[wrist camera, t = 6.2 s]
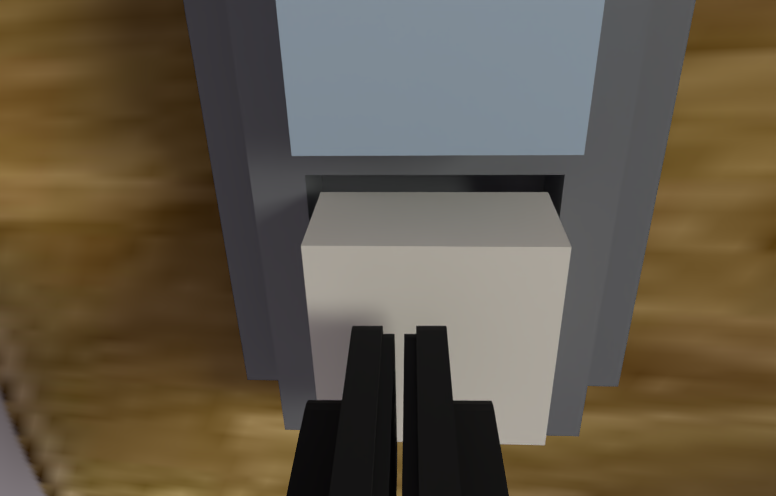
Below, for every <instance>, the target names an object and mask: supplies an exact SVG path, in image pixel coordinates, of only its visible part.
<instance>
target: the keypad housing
mask: <svg viewBox="0 0 776 496" xmlns="http://www.w3.org/2000/svg"><path fill="white" fill-rule="evenodd" d="M695 1H696V0H605V4H604V12H603V19H602V26H601V34H600V41H599V48H598V56H597V63H596V71H595V78H594V85H593V93H592V100H591V108H590V115H589V122H588V130H587V137H586V144H585V152H584V155H436V156H292V155H291V145H290V135H289V126H288V116H287V106H286V96H285V87H284V77H283V67H282V58H281V48H280V38H279V29H278V19H277V9H276V0H183V2H184V8H185V14H186V20H187V26H188V32H189V37H190V43H191V49H192V55H193V61H194V67H195V73H196V79H197V84H198V90H199V96H200V102H201V108H202V114H203V120H204V126H205V132H206V137H207V143H208V149H209V155H210V161H211V167H212V173H213V179H214V185H215V190H216V196H217V202H218V208H219V214H220V220H221V226H222V232H223V237H224V243H225V249H226V255H227V261H228V267H229V273H230V279H231V285H232V290H233V296H234V302H235V308H236V314H237V320H238V326H239V332H240V337H241V343H242V349H243V355H244V361H245V367H246V373H247V379H248V380H278V382H279V389H280V396H281V403H282V410H283V418H284V425H285V429H287V430H300V428H301V424H302V419H303V414H304V409H305V406H306V403H307V401H308V400H317V397H316V387H315V378H314V368H313V358H312V349H311V339H310V329H309V320H308V310H307V300H306V290H305V281H304V271H303V261H302V252H301V244H302V241H303V239H304V236H305V233H306V231H307V228H308V225H309V222H310V220H311V217H312V214H313V212H314V209H315V206H316V203H317V201H318V198H319V195H320V193H321V192H548V193H549V195H550V198H551V200H552V202H553V205H554V207H555V209H556V212H557V214H558V216H559V219H560V221H561V223H562V226H563V228H564V231H565V233H566V235H567V238H568V240H569V242H570V245H571V247H572V248H571V255H570V263H569V270H568V277H567V285H566V292H565V300H564V307H563V314H562V322H561V329H560V337H559V344H558V351H557V359H556V366H555V373H554V381H553V388H552V396H551V403H550V410H549V418H548V425H547V433H546V435H551V436H579V432H580V427H581V421H582V415H583V409H584V403H585V397H586V391H587V386H618V384H619V379H620V374H621V369H622V364H623V359H624V354H625V349H626V344H627V339H628V334H629V329H630V324H631V319H632V314H633V309H634V304H635V299H636V294H637V289H638V284H639V279H640V274H641V269H642V264H643V259H644V255H645V250H646V245H647V240H648V235H649V230H650V225H651V220H652V215H653V210H654V205H655V200H656V195H657V190H658V185H659V180H660V175H661V170H662V165H663V160H664V155H665V150H666V145H667V140H668V135H669V130H670V125H671V120H672V115H673V110H674V105H675V100H676V95H677V90H678V85H679V80H680V75H681V70H682V65H683V60H684V55H685V50H686V45H687V41H688V36H689V31H690V26H691V21H692V16H693V11H694V6H695Z"/></svg>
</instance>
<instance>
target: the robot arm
mask: <svg viewBox="0 0 776 496" xmlns="http://www.w3.org/2000/svg"><path fill="white" fill-rule="evenodd" d="M396 489H397V416H396V371H395V334H383V326H352V330H351V337H350V345H349V352H348V359H347V367H346V374H345V381H344V388H343V396H342V400H308V401H307V403H306V406H305V409H304V414H303V419H302V424H301V428H300V433H299V438H298V443H297V448H296V452H295V457H294V462H293V467H292V472H291V476H290V481H289V486H288V491H287V496H396ZM402 496H509V494H508V488H507V482H506V476H505V470H504V465H503V459H502V453H501V447H500V441H499V435H498V429H497V423H496V417H495V411H494V406H493V403H492V401H467V400H453V394H452V382H451V371H450V360H449V348H448V337H447V327H446V326H416V334H404V387H403V469H402Z"/></svg>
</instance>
